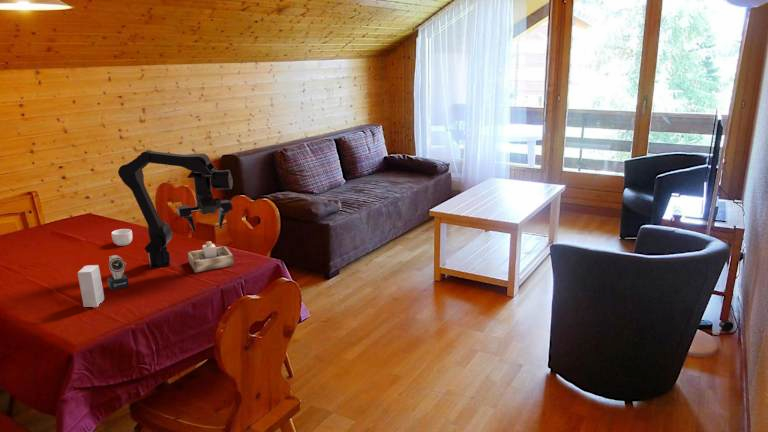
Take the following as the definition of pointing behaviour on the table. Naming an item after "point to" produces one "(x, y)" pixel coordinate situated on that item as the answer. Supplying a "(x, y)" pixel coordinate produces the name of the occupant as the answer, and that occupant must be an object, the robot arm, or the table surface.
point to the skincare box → (91, 286)
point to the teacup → (122, 237)
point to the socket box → (210, 260)
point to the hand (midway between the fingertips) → (207, 230)
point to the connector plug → (209, 250)
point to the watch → (117, 273)
